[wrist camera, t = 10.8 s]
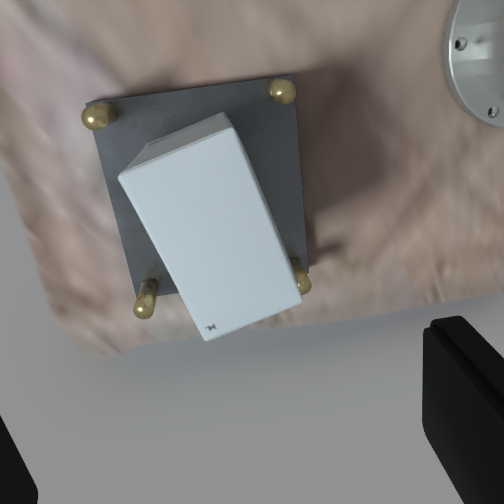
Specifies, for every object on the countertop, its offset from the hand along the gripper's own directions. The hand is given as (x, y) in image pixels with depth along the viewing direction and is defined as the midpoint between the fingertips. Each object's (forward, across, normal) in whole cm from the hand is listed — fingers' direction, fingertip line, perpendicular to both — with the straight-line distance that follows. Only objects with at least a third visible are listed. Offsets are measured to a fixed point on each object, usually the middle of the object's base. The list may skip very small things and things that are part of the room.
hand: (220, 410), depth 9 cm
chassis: (+25, +1, +2) cm, 25 cm away
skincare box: (+24, 0, +2) cm, 24 cm away
